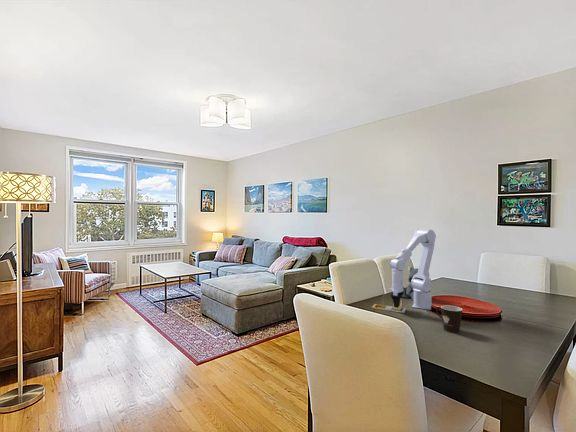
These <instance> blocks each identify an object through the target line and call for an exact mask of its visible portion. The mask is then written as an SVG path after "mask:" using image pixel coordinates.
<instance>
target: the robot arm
mask: <svg viewBox="0 0 576 432" xmlns="http://www.w3.org/2000/svg"><path fill="white" fill-rule="evenodd" d="M412 235H413V236H412V239H411V240H410V241H409V243H408V245H407V246H406V248H402V249H401V250H400V252H399V253H398V254H397V255H396V256H395V258H393V259H391V260H390V263H389V267H390V268H391V270H390V271H391V287H390V288H389V291H392V293H390V297H391V300H392V304H393V303H394V307H396V308H399V303H400V299H401V297H402V296H403V293H404V291H403V287H404V270H405V269H406V267H407V262H408V261H409V260H410V258H411V257H413V256H412V255H413V251H414V250H415V249H416V247H418V245H419V244H421V245H422V247H423V248H422V252H421V256H420V260H419V265H418V268H417V269H418V273H417V274H415V275H414V276H413V279H412V280H411V287H412V288H413V290H414V301H413V303H412V308H415V309H422V310H427V311H428V310H430V311H431V310H432V307H431V306H433V302H432V299H433V298H432V297H433V296H432V292H431V288H432V283H431V282H432V279H431V278H430V276H429V277H428V272H429V271H430V267H431V264H432V263H431V262H432V257H433V254H434V250H435V249H434V248H435V242H436V238H437V235H436V233H435V231H434V230H433V229H421V228H417V229H416V230H415V231H414V233H413V234H412ZM429 273H430V272H429ZM421 279H423V280H421ZM429 290H430V292H429ZM402 298H403V297H402Z"/></svg>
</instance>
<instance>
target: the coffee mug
mask: <svg viewBox="0 0 576 432" xmlns="http://www.w3.org/2000/svg"><path fill="white" fill-rule="evenodd" d="M439 309H440V311H441V314H439V311H438V310H439ZM435 311H436V314H437V316H439V318H440V319H441V321H442V325H443V327H442V328H443V331H445V332H447V333H453V334H458V333H460V332H461V325H462V323H461V322H462V316H463V308H462V307H459V306H456V305H448V304H446V305H441V306H437V307H436V309H435Z"/></svg>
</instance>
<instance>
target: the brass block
mask: <svg viewBox="0 0 576 432" xmlns="http://www.w3.org/2000/svg"><path fill="white" fill-rule="evenodd" d="M392 306H393V309H392V310H399V311H402V308H403V297H401V299H400V303H399V308H396V307H394V303H393V302H392Z"/></svg>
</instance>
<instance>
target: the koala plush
mask: <svg viewBox="0 0 576 432" xmlns="http://www.w3.org/2000/svg"><path fill="white" fill-rule="evenodd" d="M407 269H408V282H409V284H408V285H407V287H406V288H405V287H404V286H403V291H404V293H403V296H402V299H404V298H405V299H411V300H412V302H414V290H413V288H412V287H411V280H412V279H413V276H414V275H415V274H417V273H418V269H419V268H418V267H417V268H416V267H415V268H414V267H412V266H410V265H409V266H408V267H407ZM428 277H429V278H430V272H428ZM421 280H423V279H421ZM429 292H431V289H430V290H429Z"/></svg>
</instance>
